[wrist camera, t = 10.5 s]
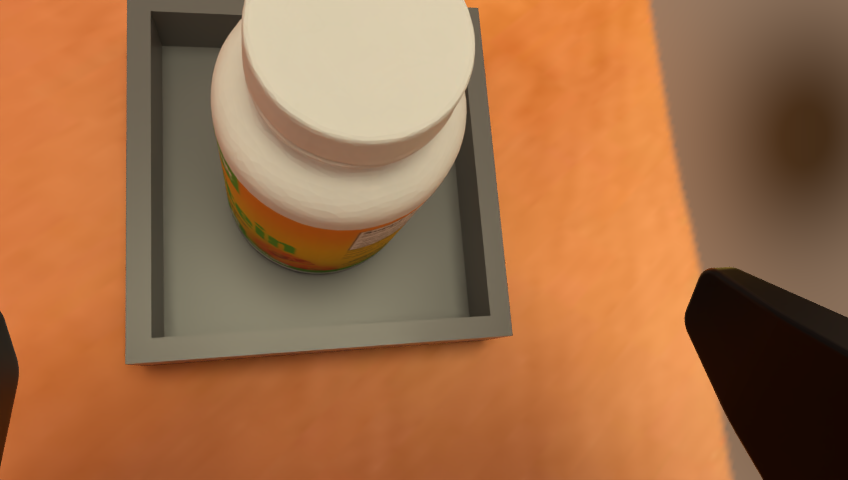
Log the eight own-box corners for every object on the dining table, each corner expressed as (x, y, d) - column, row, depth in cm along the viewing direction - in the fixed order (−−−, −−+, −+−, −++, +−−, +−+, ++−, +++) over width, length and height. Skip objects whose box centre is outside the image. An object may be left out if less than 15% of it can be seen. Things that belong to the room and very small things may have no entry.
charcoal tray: (485, 339, 21) (512, 335, 18) (144, 365, 18) (125, 364, 16) (456, 46, 23) (478, 8, 20) (144, 35, 20) (127, -11, 18)
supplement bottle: (190, 166, 19) (121, -30, 10) (337, 78, 21) (394, -158, 12) (296, 312, 19) (326, 250, 10) (436, 213, 21) (573, 80, 12)
